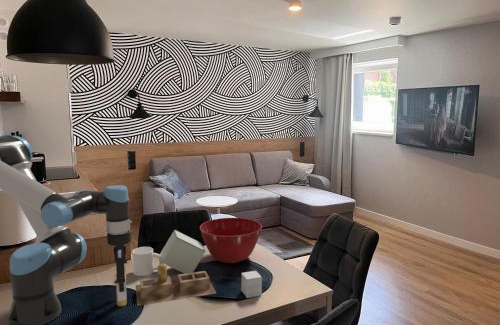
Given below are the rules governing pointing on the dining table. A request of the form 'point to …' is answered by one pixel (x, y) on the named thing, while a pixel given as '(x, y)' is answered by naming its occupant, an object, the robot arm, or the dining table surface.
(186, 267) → the tray
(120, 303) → the pin
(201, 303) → the dining table surface
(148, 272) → the mug
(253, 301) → the dining table surface
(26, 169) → the robot arm
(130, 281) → the dining table surface
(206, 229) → the mixing bowl
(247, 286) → the skincare box
